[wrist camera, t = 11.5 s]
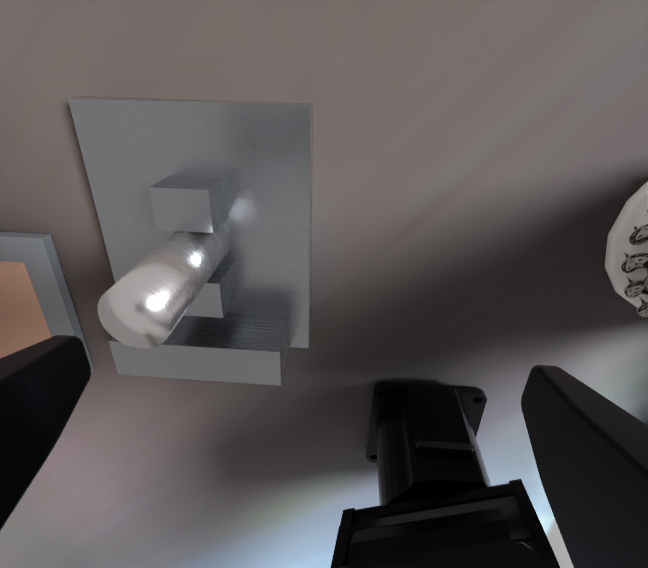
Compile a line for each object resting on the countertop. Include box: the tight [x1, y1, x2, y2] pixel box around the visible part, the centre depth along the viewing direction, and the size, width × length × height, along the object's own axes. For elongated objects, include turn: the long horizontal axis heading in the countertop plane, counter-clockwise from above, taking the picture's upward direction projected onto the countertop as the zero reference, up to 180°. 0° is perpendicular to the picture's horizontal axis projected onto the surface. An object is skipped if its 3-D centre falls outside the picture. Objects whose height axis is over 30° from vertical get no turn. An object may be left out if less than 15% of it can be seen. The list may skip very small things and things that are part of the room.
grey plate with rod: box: [68, 97, 313, 386], centre depth 16 cm, size 12×10×8 cm
